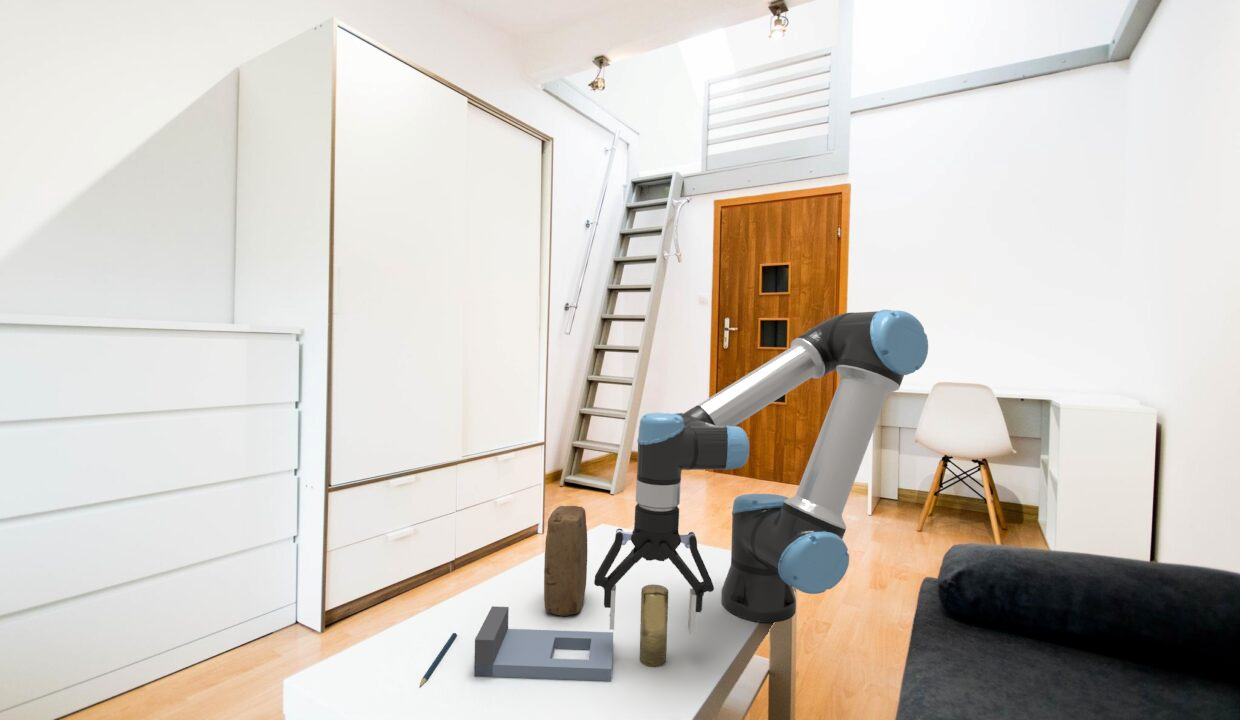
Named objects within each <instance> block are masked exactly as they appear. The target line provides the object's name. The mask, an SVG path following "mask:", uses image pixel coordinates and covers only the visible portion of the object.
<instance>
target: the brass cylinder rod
mask: <svg viewBox="0 0 1240 720" xmlns="http://www.w3.org/2000/svg"><path fill="white" fill-rule="evenodd" d="M640 593H641V599H640V628H639V629H640V630H639V631H640V632H639V633H640V635H639V662H640V664H642V665H644V666H645V667H649V668H659V667H662V666H664V665H665V664H666V663H667V649H668V648H667V647H668V644H667V642H668V622H669V621H668V616H669V615H668V614H669V612H668V611H669V589H668V588H667V587H666V586H663V585H660V584H648V585H644V586H642V587H641V592H640Z"/></svg>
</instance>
